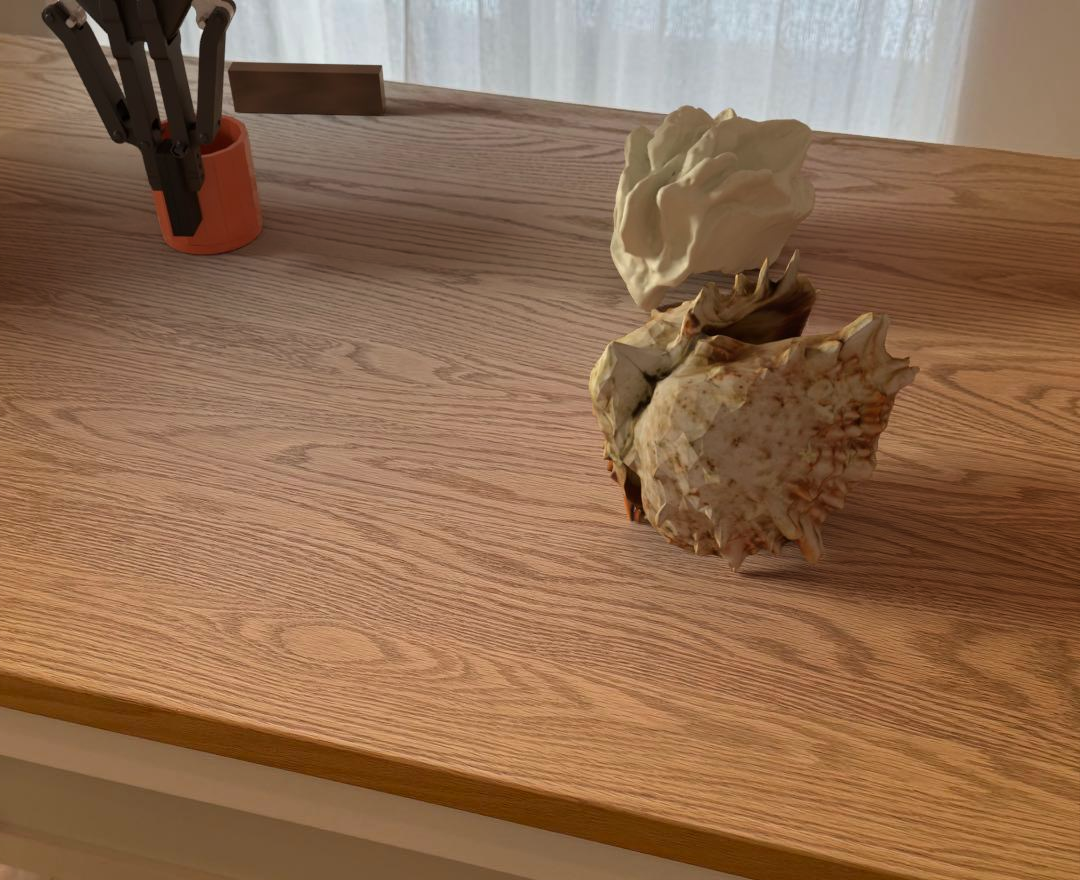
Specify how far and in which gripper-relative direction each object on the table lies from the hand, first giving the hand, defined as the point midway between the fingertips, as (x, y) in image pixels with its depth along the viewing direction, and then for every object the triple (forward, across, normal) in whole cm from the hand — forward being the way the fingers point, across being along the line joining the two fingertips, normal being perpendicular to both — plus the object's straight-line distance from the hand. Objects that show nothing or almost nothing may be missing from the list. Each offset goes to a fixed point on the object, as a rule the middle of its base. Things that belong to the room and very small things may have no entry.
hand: (188, 227), depth 94 cm
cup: (+3, 0, +6) cm, 6 cm away
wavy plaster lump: (+4, +39, +2) cm, 39 cm away
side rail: (+3, +3, +28) cm, 28 cm away
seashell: (+4, +40, -27) cm, 48 cm away
